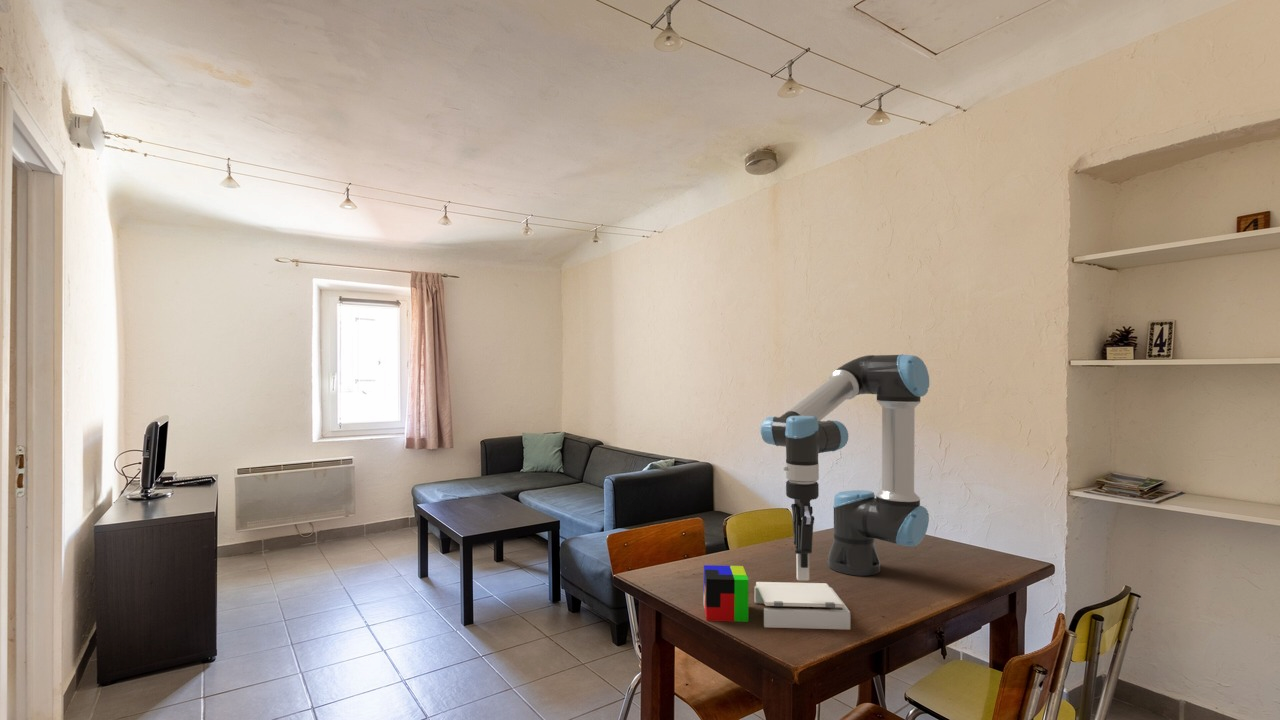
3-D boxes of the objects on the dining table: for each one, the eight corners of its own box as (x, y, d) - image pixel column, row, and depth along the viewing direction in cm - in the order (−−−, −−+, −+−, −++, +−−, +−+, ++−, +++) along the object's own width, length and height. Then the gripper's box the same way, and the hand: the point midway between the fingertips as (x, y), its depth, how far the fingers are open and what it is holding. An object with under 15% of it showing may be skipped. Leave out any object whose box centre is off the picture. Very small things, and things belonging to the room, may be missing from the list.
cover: (826, 586, 153) (826, 582, 153) (843, 608, 139) (843, 604, 139) (756, 584, 154) (756, 581, 154) (765, 606, 139) (765, 602, 139)
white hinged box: (831, 603, 154) (831, 587, 154) (850, 629, 138) (850, 612, 138) (754, 601, 154) (754, 585, 155) (764, 627, 139) (764, 610, 139)
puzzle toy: (703, 604, 153) (703, 565, 153) (742, 605, 152) (742, 566, 152) (706, 620, 143) (706, 579, 143) (748, 621, 142) (748, 580, 142)
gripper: (780, 475, 149) (781, 569, 149) (792, 486, 136) (792, 589, 136) (811, 475, 149) (811, 569, 149) (825, 486, 136) (826, 590, 136)
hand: (802, 579), depth 142 cm, fingers closed
